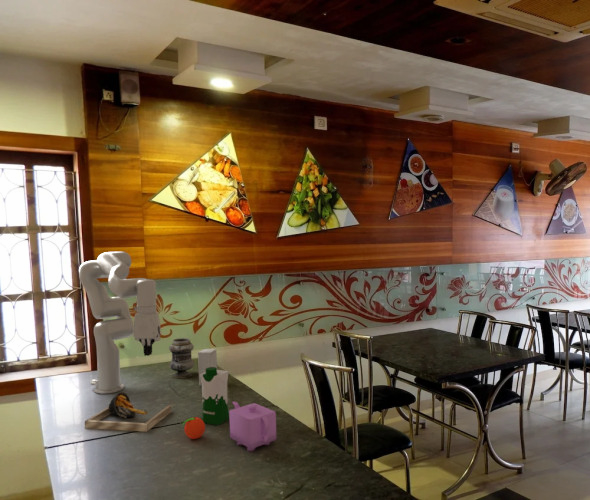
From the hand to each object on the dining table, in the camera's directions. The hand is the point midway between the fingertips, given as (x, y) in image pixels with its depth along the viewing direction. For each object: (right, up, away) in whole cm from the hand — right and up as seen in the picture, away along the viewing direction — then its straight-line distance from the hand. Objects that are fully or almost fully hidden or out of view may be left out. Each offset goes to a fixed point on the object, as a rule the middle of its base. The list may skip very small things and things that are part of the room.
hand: (148, 354), depth 194 cm
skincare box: (+19, -20, +28) cm, 40 cm away
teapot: (+45, -21, -37) cm, 62 cm away
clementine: (+26, -21, -33) cm, 47 cm away
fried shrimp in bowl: (-4, -22, -12) cm, 25 cm away
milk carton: (+31, -21, -18) cm, 41 cm away
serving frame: (-2, -21, -14) cm, 26 cm away
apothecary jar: (+4, -20, +43) cm, 47 cm away
